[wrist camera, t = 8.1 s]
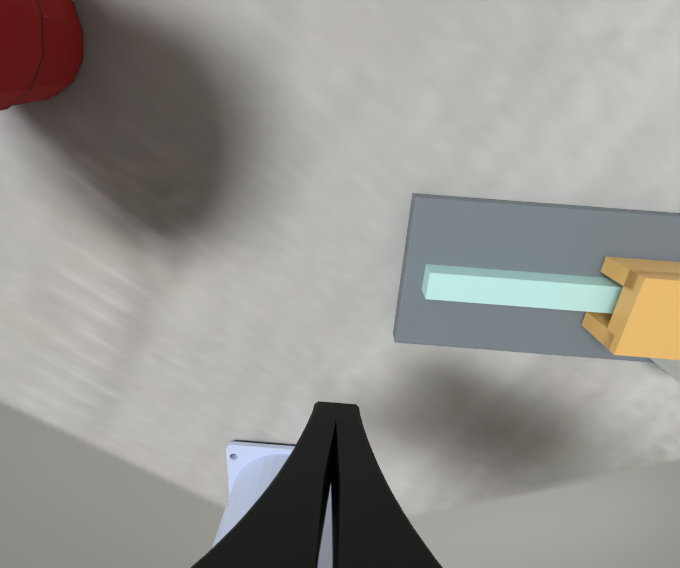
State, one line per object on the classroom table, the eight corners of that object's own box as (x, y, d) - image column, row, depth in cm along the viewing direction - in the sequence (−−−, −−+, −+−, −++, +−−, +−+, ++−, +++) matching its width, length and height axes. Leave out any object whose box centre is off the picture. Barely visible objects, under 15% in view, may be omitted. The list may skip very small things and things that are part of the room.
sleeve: (658, 331, 20) (702, 361, 18) (581, 325, 20) (614, 354, 18) (688, 262, 19) (741, 285, 16) (605, 256, 19) (645, 278, 16)
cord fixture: (741, 360, 22) (823, 411, 18) (393, 333, 22) (400, 377, 19) (818, 223, 19) (935, 250, 15) (412, 193, 19) (426, 212, 15)
